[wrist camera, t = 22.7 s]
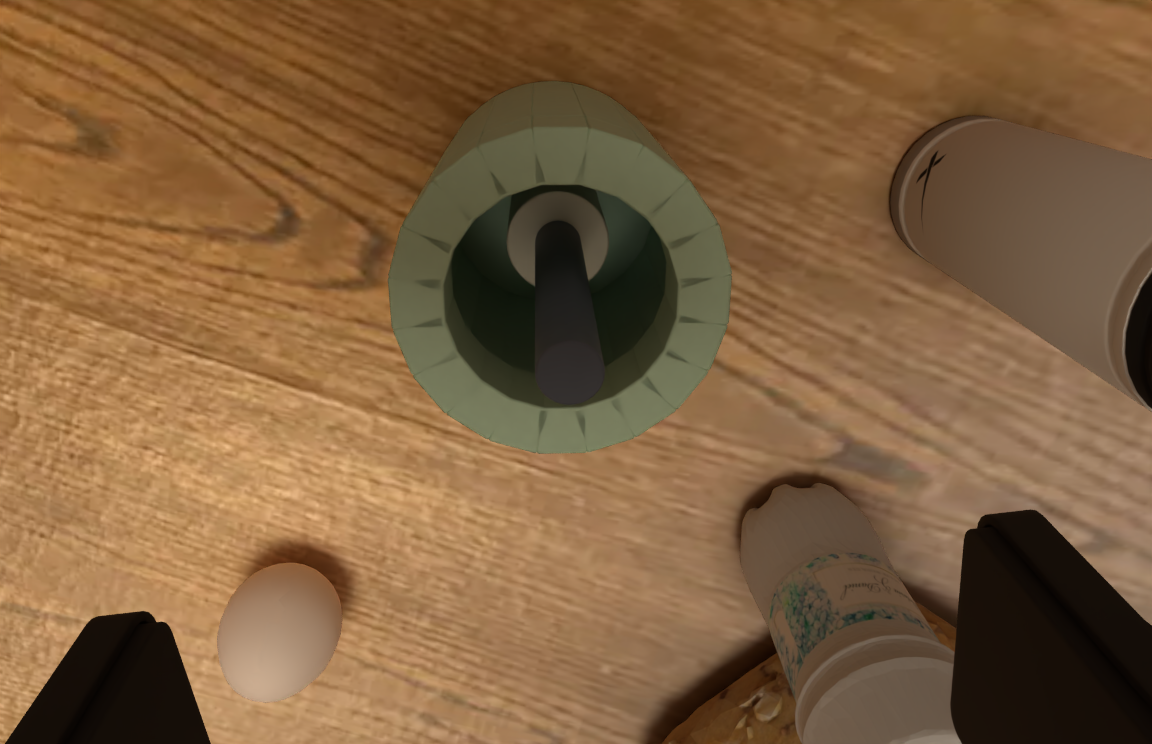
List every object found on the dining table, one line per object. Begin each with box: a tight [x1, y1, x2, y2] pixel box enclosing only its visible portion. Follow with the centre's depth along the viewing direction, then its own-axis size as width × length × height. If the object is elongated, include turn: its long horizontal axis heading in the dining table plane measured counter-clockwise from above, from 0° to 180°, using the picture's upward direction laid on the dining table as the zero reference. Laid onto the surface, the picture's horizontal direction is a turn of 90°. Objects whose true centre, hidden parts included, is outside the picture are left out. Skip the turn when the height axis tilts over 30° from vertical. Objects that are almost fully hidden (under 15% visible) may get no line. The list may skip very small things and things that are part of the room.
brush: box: [506, 185, 609, 405], centre depth 29 cm, size 4×4×18 cm
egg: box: [217, 563, 342, 703], centre depth 41 cm, size 5×5×7 cm
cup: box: [388, 81, 732, 454], centre depth 31 cm, size 9×9×14 cm
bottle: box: [740, 483, 962, 744], centre depth 35 cm, size 7×7×20 cm
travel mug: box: [890, 116, 1152, 412], centre depth 29 cm, size 6×7×20 cm
